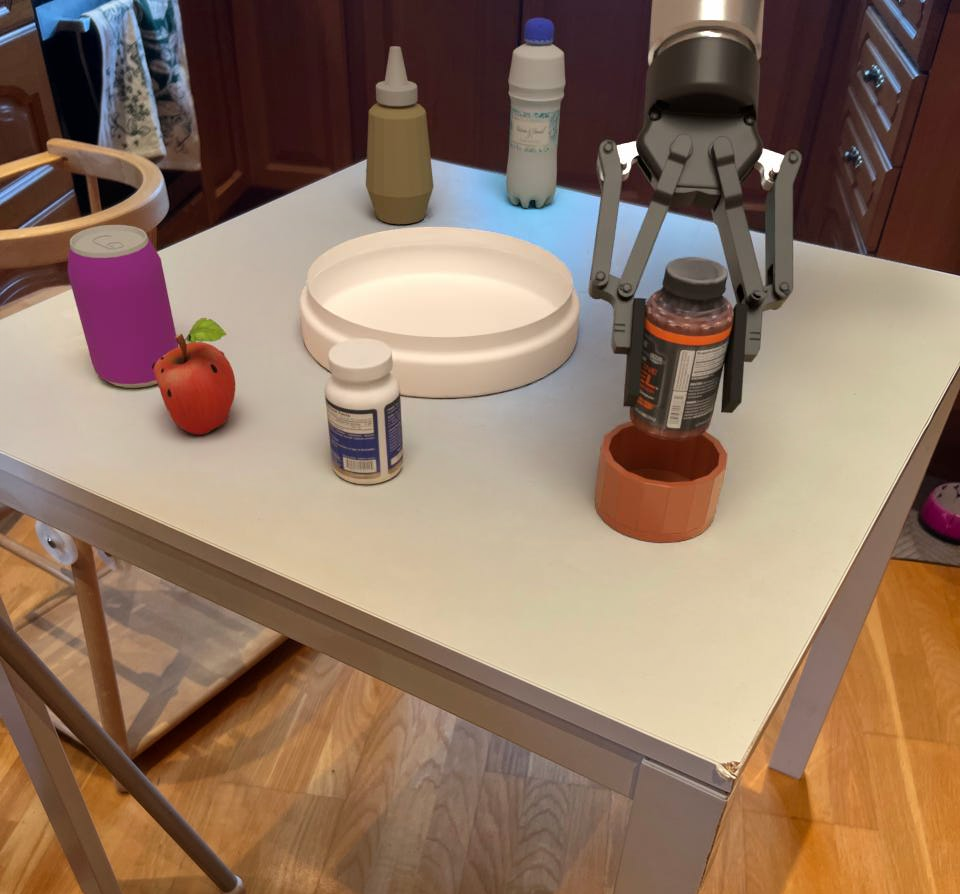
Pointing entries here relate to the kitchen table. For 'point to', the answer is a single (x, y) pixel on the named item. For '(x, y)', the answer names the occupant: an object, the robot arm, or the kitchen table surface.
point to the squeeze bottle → (398, 148)
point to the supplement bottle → (683, 350)
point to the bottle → (534, 115)
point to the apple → (197, 380)
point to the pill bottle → (364, 412)
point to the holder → (658, 484)
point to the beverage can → (121, 303)
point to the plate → (445, 308)
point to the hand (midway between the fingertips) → (681, 403)
